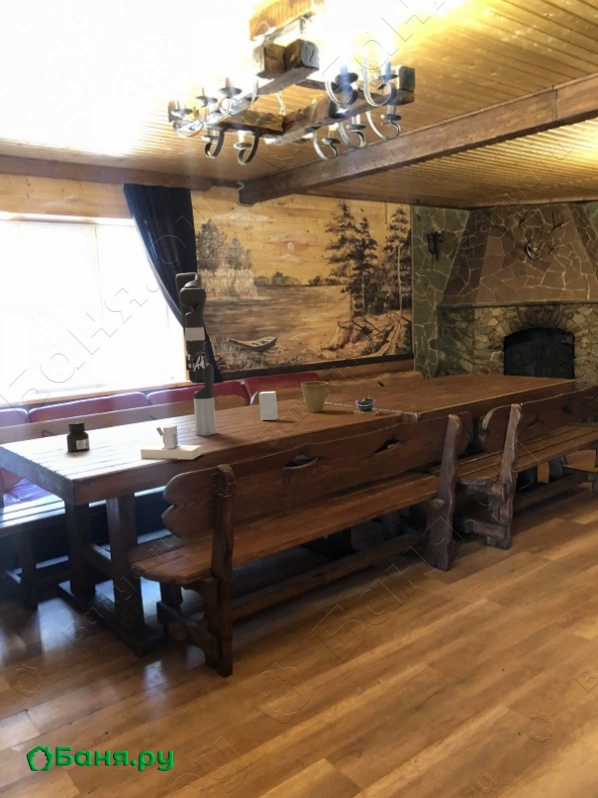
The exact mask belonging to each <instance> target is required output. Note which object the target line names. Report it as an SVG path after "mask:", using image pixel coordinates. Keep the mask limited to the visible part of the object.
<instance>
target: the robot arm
mask: <svg viewBox="0 0 598 798" xmlns="http://www.w3.org/2000/svg"><path fill="white" fill-rule="evenodd" d="M174 279H175V286H176V287H175V288H176V292H177V296H178V300H179V306H180V311H181V312H180V313H181V320H182V328H183V329H182V330H183V336H184V341H185V342H184V343H185V351H186V355H185V369H186V371H188V377H189V381H190V382H191V383H192V384H204V387H202V388H201V389H199V390H196V391H194V392H193V405H194V407H193V408H194V422H195V423H194V424H195V435H196V436H199V437H200V436H204V437H205V436H213V435H215V434H216V414H215V410H216V409H215V396H214V395H215V393H214V392H215V385H214V384H215V383H214V382H215V375H214V373H215V372H214V371H215V370H214V366H213V365H212V363H208V362H207V358H206V357H207V355H206V352H205V351H206V342H205V340H206V333H205V325H204V310H205V306H206V302H207V292H206V290H205V289H204V288H203V283H202V282H203V281H202V278H201V275H200V274H199V272H196V271H195V272H193V271H192V272H185V273H182V272H181V273H177V274H176V275H175V278H174ZM193 307H197V309H196V310H195V309H194V308H193ZM212 434H213V435H212Z"/></svg>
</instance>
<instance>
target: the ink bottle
mask: <svg viewBox="0 0 598 798" xmlns="http://www.w3.org/2000/svg"><path fill="white" fill-rule="evenodd" d="M67 426H68V432H69V433H68V434H67V435H66V444H67V445H66V447H67V451H68V452H71V453H72V452H73V453H79V451H81V452H85V451H88V450H90V436H89V433H88V432H87V431H86V421H84V420H81V421H80V420H77V421H75V420H74V421H70V422H68V423H67Z"/></svg>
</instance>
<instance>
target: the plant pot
mask: <svg viewBox="0 0 598 798" xmlns="http://www.w3.org/2000/svg"><path fill="white" fill-rule="evenodd" d="M300 386H301V392H302V395H303V400H304V403H305V405H306V408H307V410H308V412H309V411H313V412H312V413H317V412H316V411H321V412H322V411H323V409H324V407H325V403H326V397H327V393H328V386H329V383H328V382H326V381H320V380H319V381H318V380H317V381H306V382H305V381H304V382H301V383H300Z"/></svg>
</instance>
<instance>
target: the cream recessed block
mask: <svg viewBox="0 0 598 798" xmlns="http://www.w3.org/2000/svg"><path fill="white" fill-rule="evenodd" d="M201 455H202V446H201V445H187V444H186V445H184V444H183V445H181V444H178V448H176V449H174V450H169V449H164V444H150V445H149V444H148V445H147V446H145V447H142V448H141V449H140V458H141V459H160V458H177V459H176V460H190V461H191V460H194V459H196V458H198V457H199V456H201Z"/></svg>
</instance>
